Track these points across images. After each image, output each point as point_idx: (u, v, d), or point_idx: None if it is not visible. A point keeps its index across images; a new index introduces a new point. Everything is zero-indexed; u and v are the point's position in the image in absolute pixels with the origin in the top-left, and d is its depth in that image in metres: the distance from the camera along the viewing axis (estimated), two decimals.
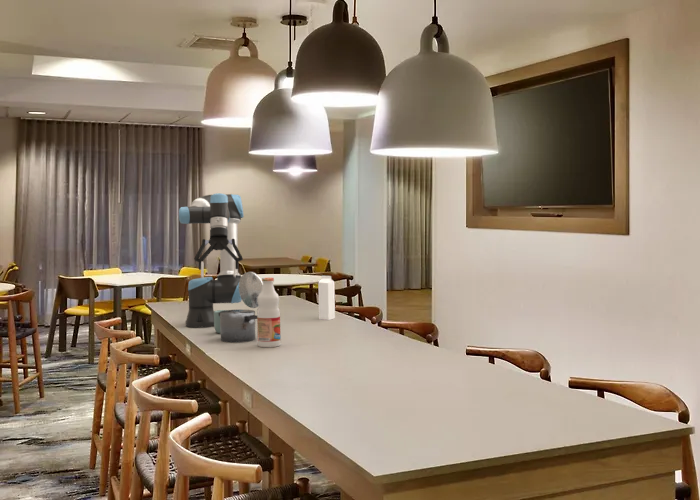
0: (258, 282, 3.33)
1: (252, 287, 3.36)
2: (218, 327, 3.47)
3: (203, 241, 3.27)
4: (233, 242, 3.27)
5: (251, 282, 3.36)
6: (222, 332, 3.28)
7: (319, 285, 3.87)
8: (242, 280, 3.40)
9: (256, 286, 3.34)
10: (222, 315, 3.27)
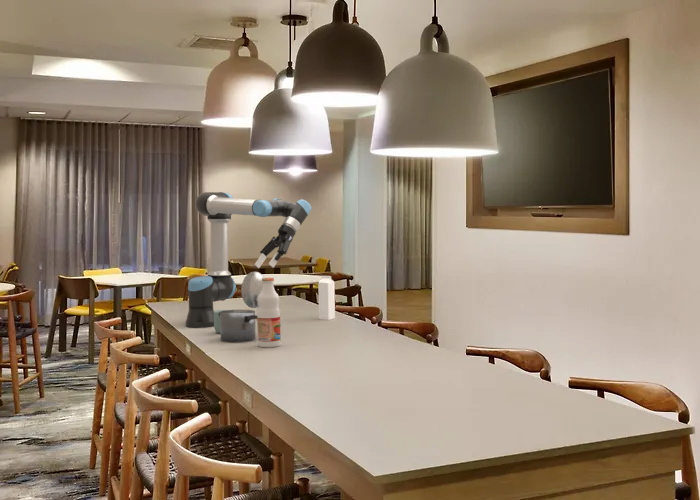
0: (262, 282, 3.34)
1: (255, 287, 3.37)
2: (218, 327, 3.47)
3: None
4: None
5: (255, 282, 3.37)
6: (222, 332, 3.28)
7: (319, 285, 3.87)
8: (246, 280, 3.41)
9: (259, 286, 3.35)
10: (222, 315, 3.27)
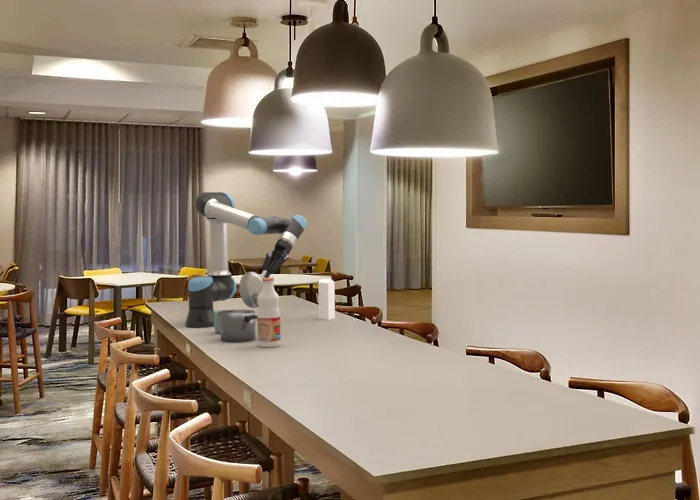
0: (259, 282, 3.33)
1: (253, 287, 3.36)
2: (218, 327, 3.47)
3: None
4: None
5: (252, 282, 3.36)
6: (222, 332, 3.28)
7: (319, 285, 3.87)
8: (243, 280, 3.40)
9: (257, 286, 3.34)
10: (222, 315, 3.27)
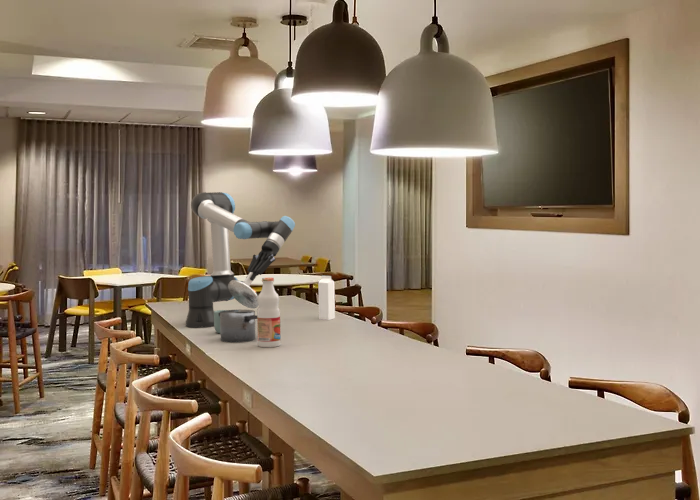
0: (247, 289, 3.28)
1: (243, 293, 3.32)
2: (218, 327, 3.47)
3: None
4: None
5: (240, 289, 3.31)
6: (222, 332, 3.28)
7: (319, 285, 3.87)
8: (230, 287, 3.35)
9: (246, 292, 3.30)
10: (222, 315, 3.27)
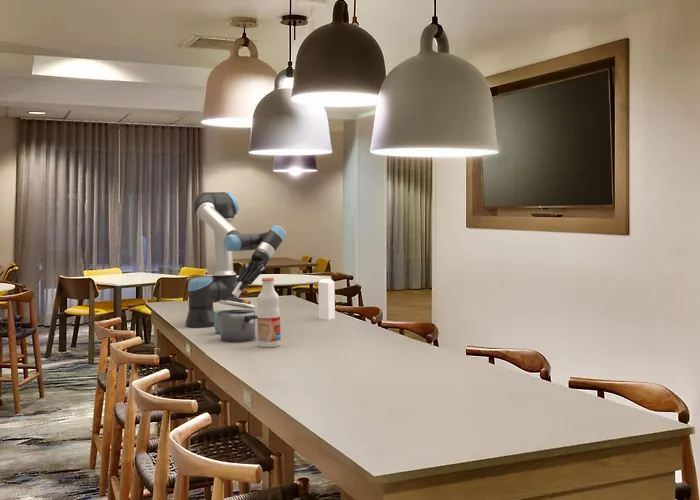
0: (239, 305, 3.25)
1: None
2: (218, 327, 3.47)
3: None
4: None
5: None
6: (222, 332, 3.28)
7: (319, 285, 3.87)
8: (223, 303, 3.32)
9: None
10: (222, 315, 3.27)
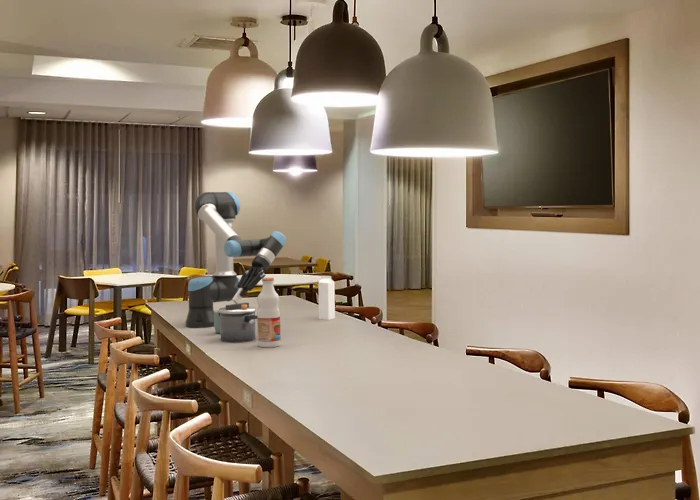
0: (239, 313, 3.25)
1: None
2: (218, 327, 3.47)
3: None
4: None
5: None
6: (222, 332, 3.28)
7: (319, 285, 3.87)
8: None
9: None
10: (222, 315, 3.27)
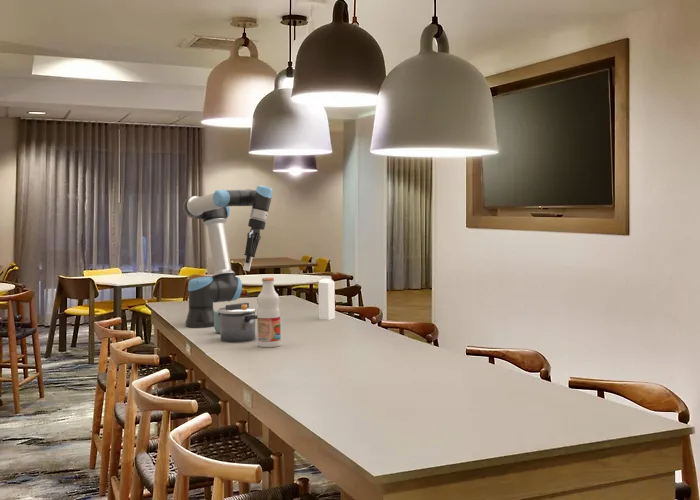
0: (239, 313, 3.25)
1: None
2: (218, 327, 3.47)
3: (252, 236, 3.42)
4: (259, 239, 3.52)
5: None
6: (222, 332, 3.28)
7: (319, 285, 3.87)
8: None
9: None
10: (222, 315, 3.27)
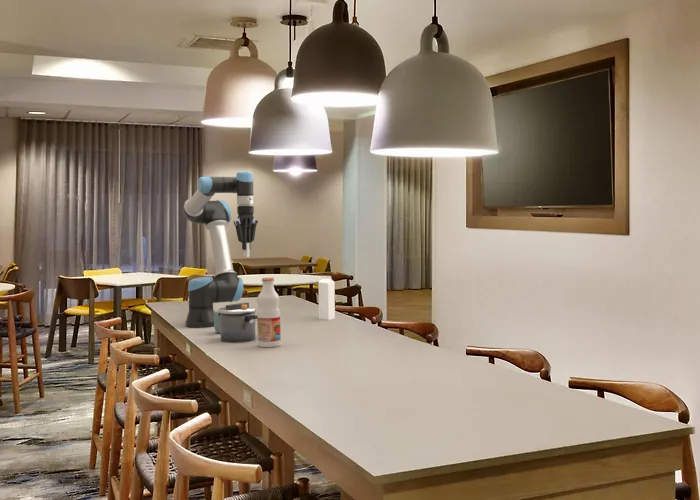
0: (239, 313, 3.25)
1: None
2: (218, 327, 3.47)
3: (238, 223, 3.46)
4: (255, 223, 3.54)
5: None
6: (222, 332, 3.28)
7: (319, 285, 3.87)
8: None
9: None
10: (222, 315, 3.27)
